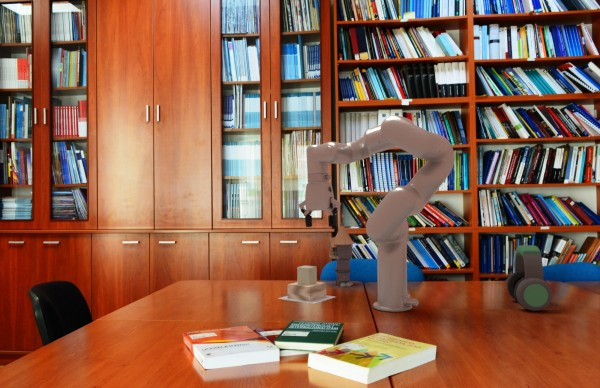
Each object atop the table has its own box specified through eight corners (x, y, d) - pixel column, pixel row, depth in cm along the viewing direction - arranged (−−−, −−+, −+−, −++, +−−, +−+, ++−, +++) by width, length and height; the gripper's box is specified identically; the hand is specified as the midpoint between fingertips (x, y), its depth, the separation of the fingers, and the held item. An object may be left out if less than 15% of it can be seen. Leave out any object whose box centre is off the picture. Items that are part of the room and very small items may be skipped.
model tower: (325, 284, 211) (324, 212, 211) (349, 282, 214) (349, 212, 214) (334, 287, 202) (333, 213, 202) (359, 286, 205) (358, 212, 205)
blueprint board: (336, 298, 180) (336, 296, 180) (314, 306, 169) (314, 303, 169) (300, 294, 190) (300, 292, 190) (277, 300, 179) (277, 298, 179)
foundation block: (326, 296, 180) (326, 282, 180) (310, 301, 172) (310, 287, 172) (304, 293, 186) (303, 280, 186) (287, 298, 178) (287, 284, 178)
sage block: (316, 283, 180) (316, 266, 180) (308, 285, 176) (308, 268, 176) (305, 281, 183) (305, 265, 183) (297, 283, 179) (297, 267, 179)
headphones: (555, 313, 155) (554, 248, 155) (517, 312, 157) (516, 248, 157) (538, 300, 174) (538, 243, 174) (505, 299, 176) (504, 242, 176)
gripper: (344, 177, 179) (346, 225, 178) (304, 181, 189) (306, 226, 188) (333, 177, 173) (335, 227, 172) (292, 180, 183) (294, 227, 182)
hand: (320, 226), depth 180 cm, fingers open, 9 cm apart
